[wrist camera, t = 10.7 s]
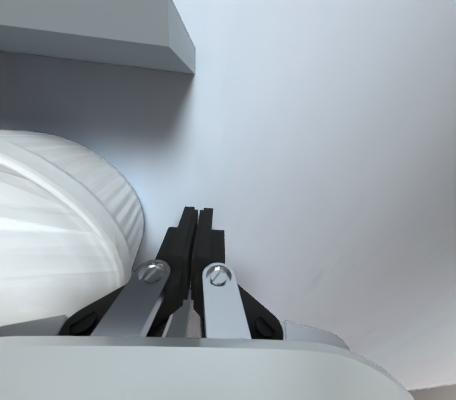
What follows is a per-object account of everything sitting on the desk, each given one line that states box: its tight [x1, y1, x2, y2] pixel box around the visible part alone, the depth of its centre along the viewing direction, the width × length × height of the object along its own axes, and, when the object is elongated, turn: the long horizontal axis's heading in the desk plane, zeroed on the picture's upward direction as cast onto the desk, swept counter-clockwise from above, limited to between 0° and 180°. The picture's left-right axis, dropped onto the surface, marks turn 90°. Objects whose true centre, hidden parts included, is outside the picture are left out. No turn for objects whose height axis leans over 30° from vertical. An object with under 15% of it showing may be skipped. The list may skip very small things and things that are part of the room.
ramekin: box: [0, 130, 144, 327], centre depth 10 cm, size 11×11×5 cm
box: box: [0, 0, 195, 338], centre depth 10 cm, size 15×18×5 cm
